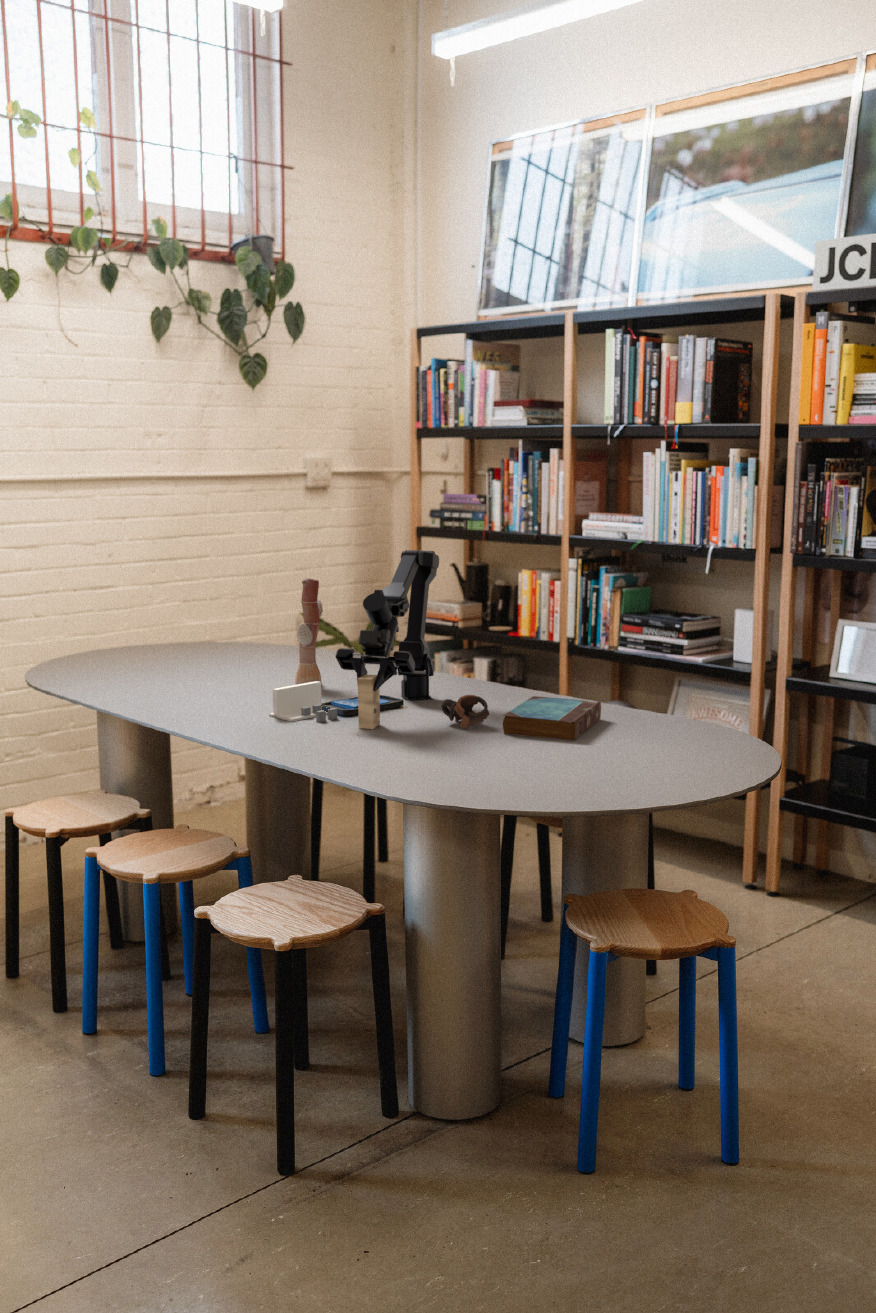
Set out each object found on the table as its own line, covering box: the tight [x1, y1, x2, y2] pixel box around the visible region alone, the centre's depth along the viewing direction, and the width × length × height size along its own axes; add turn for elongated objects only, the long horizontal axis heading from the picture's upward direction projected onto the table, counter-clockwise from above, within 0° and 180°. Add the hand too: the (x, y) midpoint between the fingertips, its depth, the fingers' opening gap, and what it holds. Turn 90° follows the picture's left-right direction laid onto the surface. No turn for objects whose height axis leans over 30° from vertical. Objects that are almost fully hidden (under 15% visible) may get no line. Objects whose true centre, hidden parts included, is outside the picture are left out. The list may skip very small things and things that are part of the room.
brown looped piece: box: [440, 694, 491, 730], centre depth 282 cm, size 12×10×8 cm
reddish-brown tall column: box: [294, 577, 324, 686], centre depth 328 cm, size 10×7×30 cm
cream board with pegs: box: [268, 681, 338, 723], centre depth 292 cm, size 14×14×7 cm
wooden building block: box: [357, 673, 381, 730], centre depth 280 cm, size 5×4×12 cm
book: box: [502, 695, 602, 741], centre depth 280 cm, size 23×18×5 cm
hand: (366, 689), depth 278 cm, fingers closed on wooden building block, 3 cm apart
